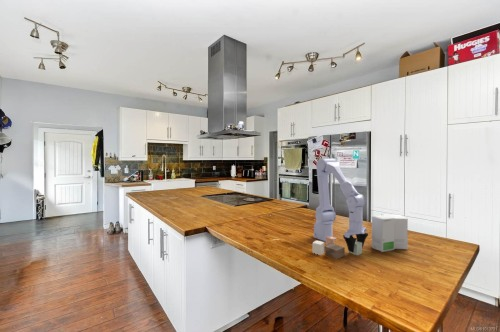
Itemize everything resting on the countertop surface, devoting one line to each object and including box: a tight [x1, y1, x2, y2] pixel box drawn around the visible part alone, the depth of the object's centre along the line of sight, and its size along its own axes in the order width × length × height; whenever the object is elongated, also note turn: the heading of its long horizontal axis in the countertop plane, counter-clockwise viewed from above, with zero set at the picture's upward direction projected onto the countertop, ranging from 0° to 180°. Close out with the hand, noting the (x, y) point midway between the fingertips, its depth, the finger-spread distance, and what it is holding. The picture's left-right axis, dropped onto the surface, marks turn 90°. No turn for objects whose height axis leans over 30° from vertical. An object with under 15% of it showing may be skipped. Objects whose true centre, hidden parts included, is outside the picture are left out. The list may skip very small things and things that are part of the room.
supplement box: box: [380, 213, 409, 250], centre depth 115 cm, size 9×9×15 cm
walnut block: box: [324, 243, 346, 260], centre depth 105 cm, size 6×6×4 cm
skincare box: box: [371, 215, 395, 253], centre depth 111 cm, size 8×7×16 cm
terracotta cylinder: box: [325, 235, 335, 246], centre depth 114 cm, size 4×4×5 cm
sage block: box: [348, 240, 363, 256], centre depth 107 cm, size 4×4×5 cm
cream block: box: [312, 239, 325, 256], centre depth 107 cm, size 4×4×5 cm
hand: (355, 249), depth 107 cm, fingers open, 7 cm apart
